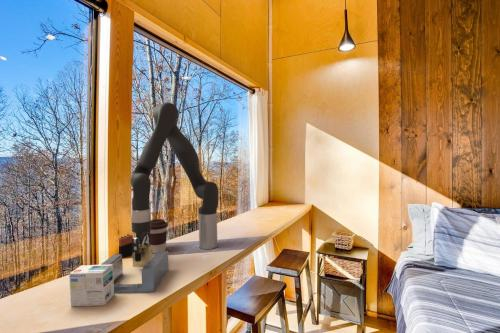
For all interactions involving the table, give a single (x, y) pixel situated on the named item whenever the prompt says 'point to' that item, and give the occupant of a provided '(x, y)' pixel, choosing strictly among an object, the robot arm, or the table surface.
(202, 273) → the table surface
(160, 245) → the coffee cup
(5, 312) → the table surface
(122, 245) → the battery
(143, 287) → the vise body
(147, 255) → the block
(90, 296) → the light bulb box
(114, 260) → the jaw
